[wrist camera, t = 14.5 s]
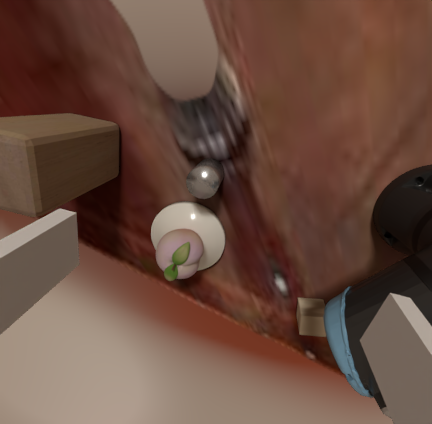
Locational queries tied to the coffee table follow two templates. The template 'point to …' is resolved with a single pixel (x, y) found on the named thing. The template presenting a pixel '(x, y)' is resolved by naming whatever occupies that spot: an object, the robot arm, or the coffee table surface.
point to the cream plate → (192, 228)
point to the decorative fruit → (179, 253)
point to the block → (54, 160)
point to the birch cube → (311, 317)
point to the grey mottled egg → (205, 178)
